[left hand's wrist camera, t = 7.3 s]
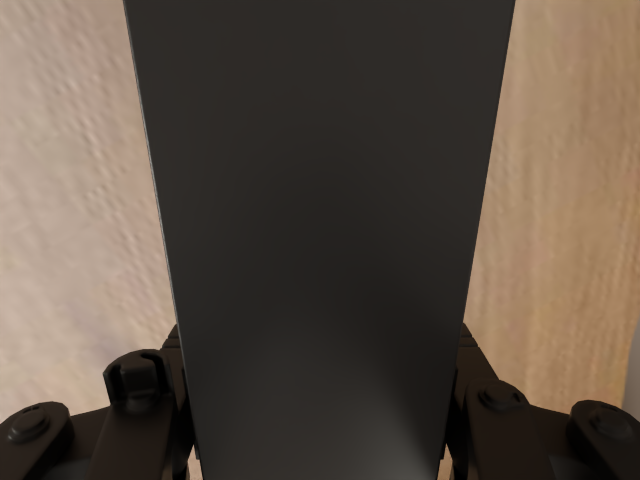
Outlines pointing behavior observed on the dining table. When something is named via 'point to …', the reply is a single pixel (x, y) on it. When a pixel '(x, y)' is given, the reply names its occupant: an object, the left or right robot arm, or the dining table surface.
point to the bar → (319, 219)
